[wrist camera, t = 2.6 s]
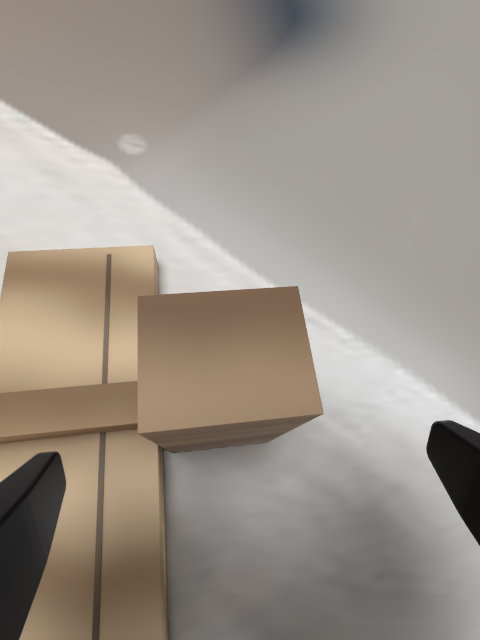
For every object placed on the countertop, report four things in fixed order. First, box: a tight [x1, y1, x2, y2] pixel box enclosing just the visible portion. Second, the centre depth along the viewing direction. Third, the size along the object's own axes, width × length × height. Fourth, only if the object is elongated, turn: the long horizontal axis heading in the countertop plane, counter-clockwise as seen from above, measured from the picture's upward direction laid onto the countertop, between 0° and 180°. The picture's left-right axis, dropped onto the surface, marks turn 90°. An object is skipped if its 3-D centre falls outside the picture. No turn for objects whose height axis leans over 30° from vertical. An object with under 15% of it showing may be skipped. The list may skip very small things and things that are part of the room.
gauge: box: [0, 286, 323, 453], centre depth 14 cm, size 4×15×10 cm, turn 96°
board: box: [0, 245, 168, 640], centre depth 17 cm, size 20×8×2 cm, turn 6°
